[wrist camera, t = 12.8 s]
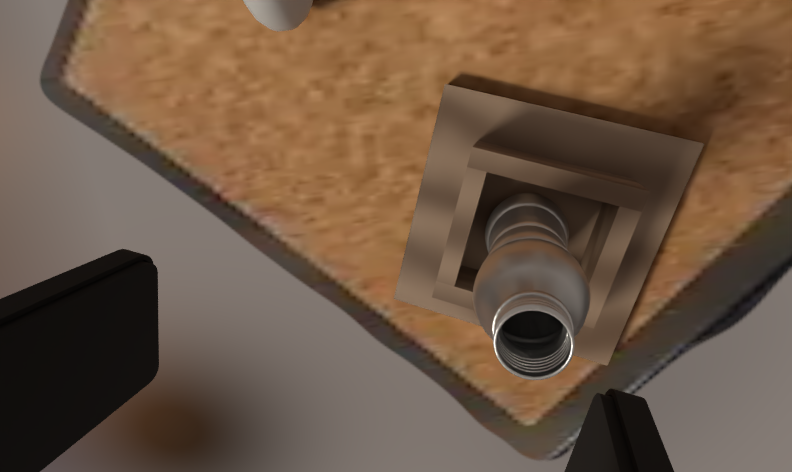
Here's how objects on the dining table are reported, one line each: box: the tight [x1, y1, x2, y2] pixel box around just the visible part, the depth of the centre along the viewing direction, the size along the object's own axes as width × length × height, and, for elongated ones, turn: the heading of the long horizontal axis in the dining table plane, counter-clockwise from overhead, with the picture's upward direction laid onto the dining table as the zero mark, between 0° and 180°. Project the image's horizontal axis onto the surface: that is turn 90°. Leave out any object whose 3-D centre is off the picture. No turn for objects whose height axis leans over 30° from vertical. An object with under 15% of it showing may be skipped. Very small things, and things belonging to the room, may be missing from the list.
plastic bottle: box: [473, 193, 591, 380], centre depth 30 cm, size 6×7×20 cm
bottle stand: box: [394, 84, 704, 365], centre depth 38 cm, size 20×20×6 cm
